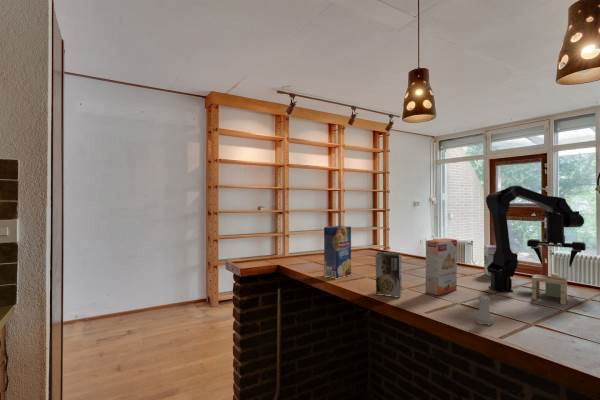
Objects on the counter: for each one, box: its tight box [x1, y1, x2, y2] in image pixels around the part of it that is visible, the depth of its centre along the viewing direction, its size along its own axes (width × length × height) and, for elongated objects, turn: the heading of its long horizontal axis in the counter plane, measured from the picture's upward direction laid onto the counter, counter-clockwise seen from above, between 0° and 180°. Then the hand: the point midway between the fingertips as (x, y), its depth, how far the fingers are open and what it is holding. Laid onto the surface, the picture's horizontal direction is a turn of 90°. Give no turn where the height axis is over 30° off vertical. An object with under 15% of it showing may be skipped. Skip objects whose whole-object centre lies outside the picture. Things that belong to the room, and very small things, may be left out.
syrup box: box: [483, 244, 496, 278], centre depth 155 cm, size 6×6×14 cm
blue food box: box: [323, 225, 352, 278], centre depth 156 cm, size 12×8×24 cm, turn 137°
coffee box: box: [375, 251, 403, 298], centre depth 125 cm, size 9×6×16 cm
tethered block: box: [545, 273, 561, 299], centre depth 127 cm, size 16×5×6 cm, turn 140°
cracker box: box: [425, 238, 458, 296], centre depth 128 cm, size 14×6×21 cm, turn 126°
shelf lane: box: [531, 274, 568, 305], centre depth 118 cm, size 9×9×8 cm
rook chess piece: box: [475, 294, 494, 325], centre depth 95 cm, size 4×4×8 cm
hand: (555, 265), depth 133 cm, fingers open, 9 cm apart
